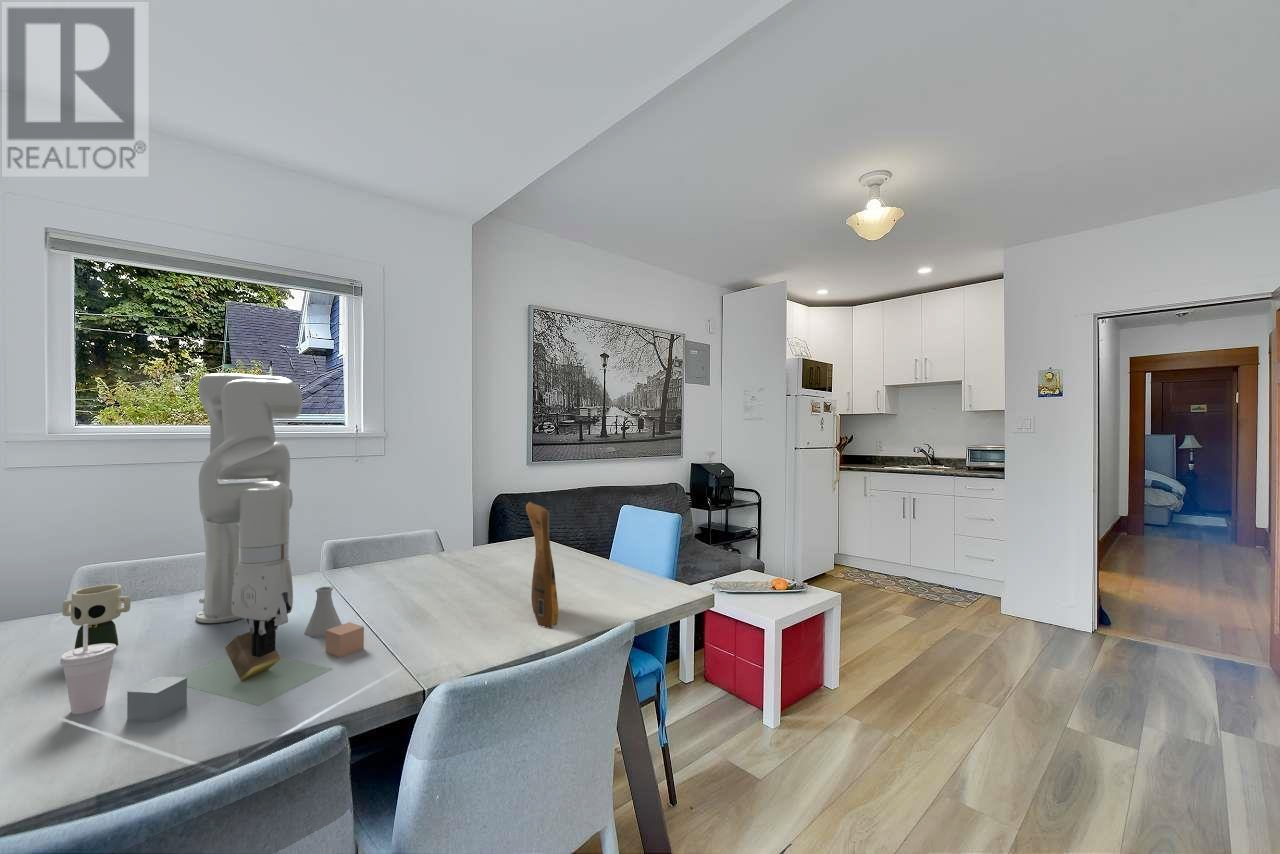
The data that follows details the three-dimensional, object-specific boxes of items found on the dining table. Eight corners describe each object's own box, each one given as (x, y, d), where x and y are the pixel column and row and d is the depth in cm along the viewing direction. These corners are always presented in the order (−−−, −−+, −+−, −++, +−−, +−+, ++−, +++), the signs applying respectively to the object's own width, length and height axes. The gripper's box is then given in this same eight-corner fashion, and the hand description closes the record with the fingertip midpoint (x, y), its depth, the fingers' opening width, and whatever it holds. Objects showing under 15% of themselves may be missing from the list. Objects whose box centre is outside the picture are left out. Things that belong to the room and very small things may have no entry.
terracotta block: (325, 654, 107) (325, 630, 107) (349, 645, 112) (349, 622, 112) (340, 660, 105) (340, 635, 105) (363, 650, 109) (363, 626, 109)
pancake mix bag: (533, 633, 119) (534, 510, 119) (524, 605, 137) (525, 499, 137) (562, 629, 121) (564, 509, 121) (549, 603, 139) (551, 498, 139)
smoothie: (86, 700, 88) (87, 617, 88) (127, 699, 89) (128, 616, 89) (46, 721, 82) (47, 632, 82) (90, 720, 83) (91, 631, 83)
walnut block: (241, 681, 95) (224, 647, 96) (268, 669, 99) (252, 637, 101) (253, 670, 94) (236, 636, 95) (280, 658, 98) (264, 626, 100)
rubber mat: (165, 682, 95) (165, 680, 95) (245, 651, 108) (245, 649, 108) (258, 707, 87) (258, 705, 87) (333, 670, 100) (333, 668, 100)
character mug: (48, 663, 101) (48, 596, 101) (75, 648, 108) (76, 585, 108) (118, 657, 104) (118, 592, 104) (140, 643, 111) (141, 582, 111)
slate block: (127, 723, 82) (127, 691, 82) (158, 706, 87) (158, 676, 87) (156, 725, 82) (157, 693, 82) (186, 707, 87) (186, 677, 87)
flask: (325, 640, 114) (325, 594, 114) (296, 637, 115) (297, 592, 115) (349, 628, 121) (350, 584, 121) (322, 625, 122) (323, 582, 122)
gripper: (214, 554, 95) (213, 655, 95) (273, 562, 90) (272, 668, 90) (256, 546, 102) (255, 640, 102) (313, 552, 97) (312, 651, 97)
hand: (263, 653), depth 96 cm, fingers closed
